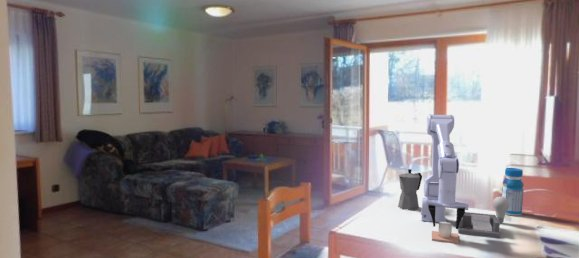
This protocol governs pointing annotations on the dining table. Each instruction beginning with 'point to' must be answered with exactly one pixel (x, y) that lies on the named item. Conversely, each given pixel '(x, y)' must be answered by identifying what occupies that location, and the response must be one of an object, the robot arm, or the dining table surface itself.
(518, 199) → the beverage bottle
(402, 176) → the coffeepot
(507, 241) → the dining table surface
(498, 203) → the lightbulb
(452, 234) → the mat
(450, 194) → the robot arm
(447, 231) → the plug
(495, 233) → the socket block
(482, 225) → the clip
